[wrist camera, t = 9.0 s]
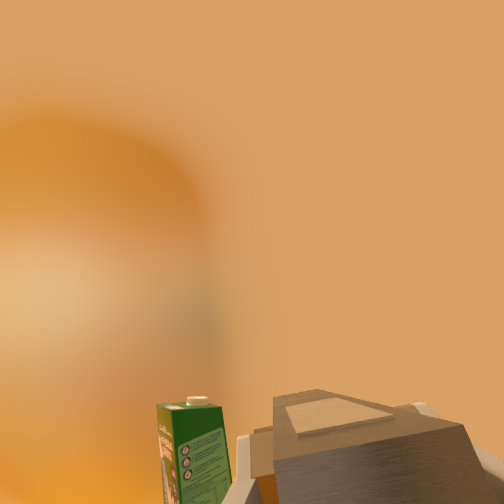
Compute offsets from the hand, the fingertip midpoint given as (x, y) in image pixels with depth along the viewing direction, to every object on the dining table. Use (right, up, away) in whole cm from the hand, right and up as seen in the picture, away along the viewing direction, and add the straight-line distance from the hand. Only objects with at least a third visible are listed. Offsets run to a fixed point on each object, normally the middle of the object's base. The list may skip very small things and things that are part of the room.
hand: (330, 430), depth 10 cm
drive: (+1, -5, +4) cm, 6 cm away
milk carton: (-10, -44, +30) cm, 54 cm away
